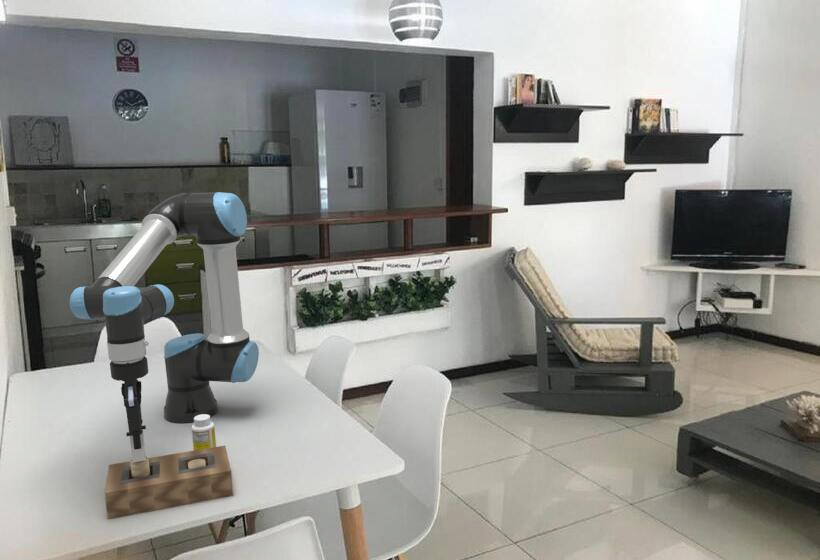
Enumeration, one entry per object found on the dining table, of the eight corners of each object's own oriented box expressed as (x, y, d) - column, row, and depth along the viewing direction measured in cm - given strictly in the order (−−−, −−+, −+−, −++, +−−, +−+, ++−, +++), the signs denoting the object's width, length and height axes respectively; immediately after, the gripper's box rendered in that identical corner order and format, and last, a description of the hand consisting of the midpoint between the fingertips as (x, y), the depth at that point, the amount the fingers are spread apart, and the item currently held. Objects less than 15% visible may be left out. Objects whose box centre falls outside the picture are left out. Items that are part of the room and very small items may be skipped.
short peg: (190, 492, 156) (188, 467, 155) (190, 484, 159) (187, 460, 158) (208, 488, 157) (205, 464, 156) (206, 481, 160) (204, 457, 159)
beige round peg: (132, 491, 151) (130, 466, 150) (133, 483, 155) (130, 458, 154) (151, 487, 152) (148, 463, 151) (151, 480, 156) (148, 455, 155)
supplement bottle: (208, 447, 178) (205, 411, 176) (221, 453, 175) (217, 416, 173) (189, 455, 174) (186, 417, 172) (202, 461, 171) (198, 423, 169)
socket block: (107, 519, 145) (104, 493, 144) (111, 488, 158) (108, 464, 157) (233, 495, 154) (231, 470, 153) (227, 468, 167) (225, 445, 166)
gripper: (146, 365, 143) (157, 469, 147) (147, 348, 155) (157, 445, 160) (107, 369, 140) (119, 476, 145) (111, 352, 152) (122, 451, 157)
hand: (139, 460), depth 152 cm, fingers closed
